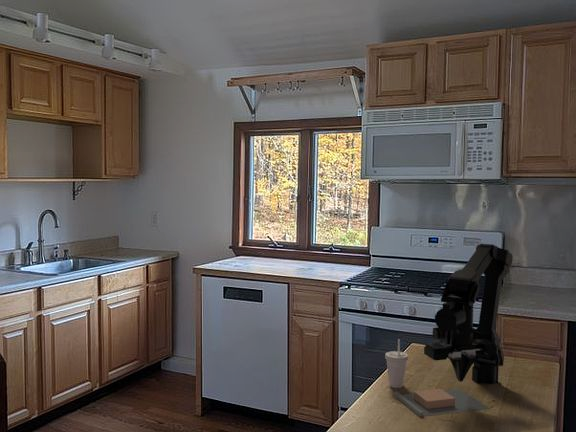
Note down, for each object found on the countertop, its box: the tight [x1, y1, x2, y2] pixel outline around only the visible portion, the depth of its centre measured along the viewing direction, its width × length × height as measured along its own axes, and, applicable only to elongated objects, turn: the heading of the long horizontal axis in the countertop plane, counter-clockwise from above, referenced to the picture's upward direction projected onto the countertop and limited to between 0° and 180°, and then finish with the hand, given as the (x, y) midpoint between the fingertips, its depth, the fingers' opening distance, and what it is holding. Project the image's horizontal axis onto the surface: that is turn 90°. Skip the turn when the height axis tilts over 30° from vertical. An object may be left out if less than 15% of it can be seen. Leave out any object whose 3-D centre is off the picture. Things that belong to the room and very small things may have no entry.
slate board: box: [393, 388, 491, 418], centre depth 151 cm, size 20×14×2 cm
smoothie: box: [384, 338, 409, 389], centre depth 162 cm, size 6×6×14 cm
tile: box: [413, 388, 455, 409], centre depth 150 cm, size 2×7×8 cm
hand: (460, 381), depth 152 cm, fingers closed
